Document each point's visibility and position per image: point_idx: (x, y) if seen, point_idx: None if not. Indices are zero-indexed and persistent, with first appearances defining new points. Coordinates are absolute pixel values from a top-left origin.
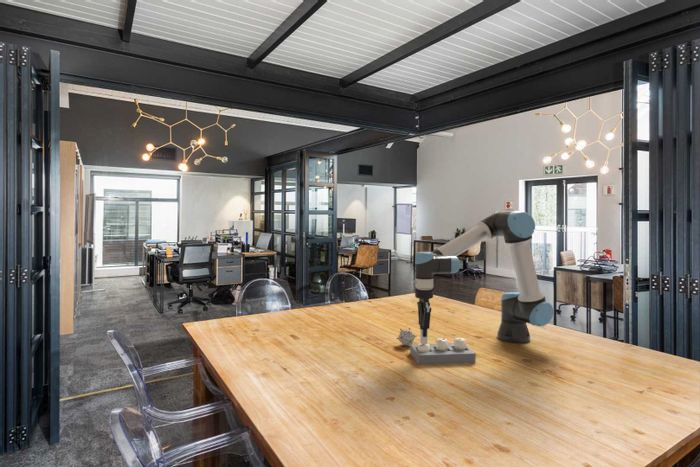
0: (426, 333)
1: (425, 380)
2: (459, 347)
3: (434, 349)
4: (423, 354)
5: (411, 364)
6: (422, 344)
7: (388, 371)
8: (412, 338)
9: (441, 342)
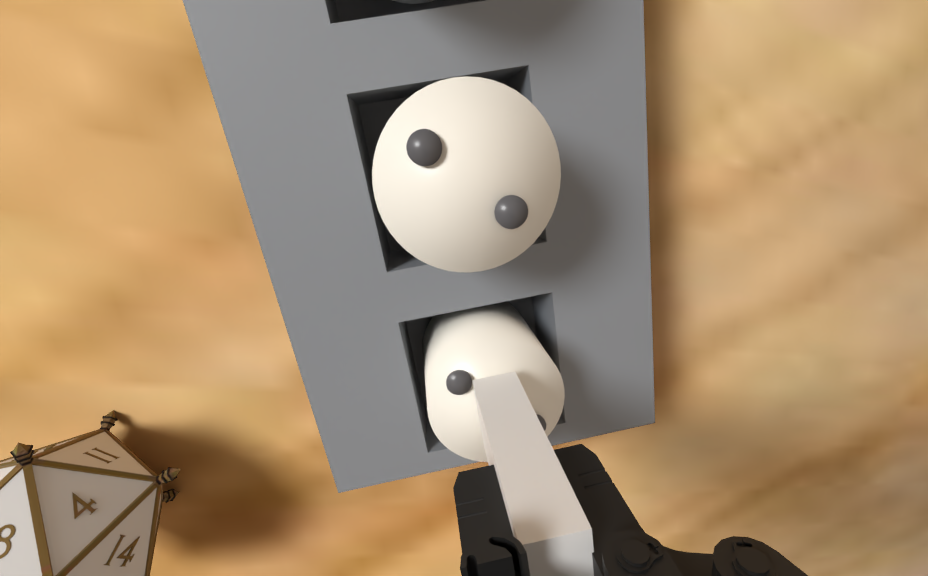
0: (614, 486)
1: (877, 350)
2: None
3: None
4: (637, 384)
5: None
6: None
7: (709, 547)
8: (98, 477)
9: (553, 201)
